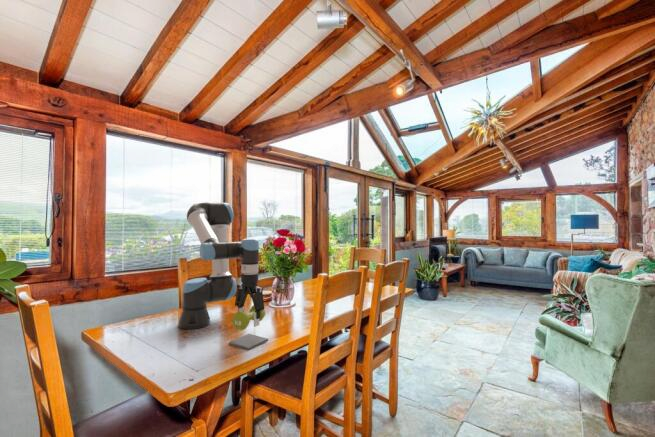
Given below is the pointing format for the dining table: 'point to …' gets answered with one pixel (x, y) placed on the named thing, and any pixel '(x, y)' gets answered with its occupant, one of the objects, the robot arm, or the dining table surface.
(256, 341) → the trivet
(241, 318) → the dumbbell
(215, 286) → the robot arm
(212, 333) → the dining table surface
